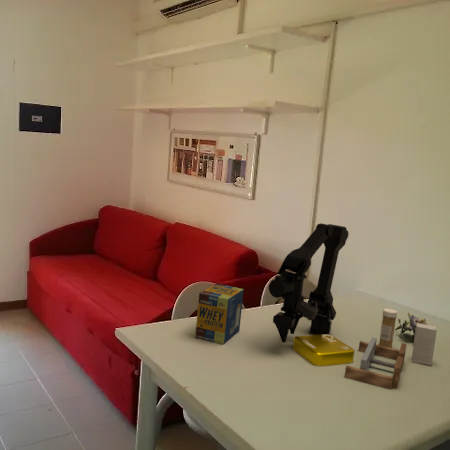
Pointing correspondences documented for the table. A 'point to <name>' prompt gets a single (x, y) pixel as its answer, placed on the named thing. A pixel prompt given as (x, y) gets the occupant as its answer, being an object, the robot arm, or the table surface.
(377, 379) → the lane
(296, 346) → the element tile
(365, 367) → the pusher
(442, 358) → the table surface
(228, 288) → the protein box
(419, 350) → the skincare box
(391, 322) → the sprinkles bottle
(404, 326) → the passion flower
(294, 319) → the robot arm
